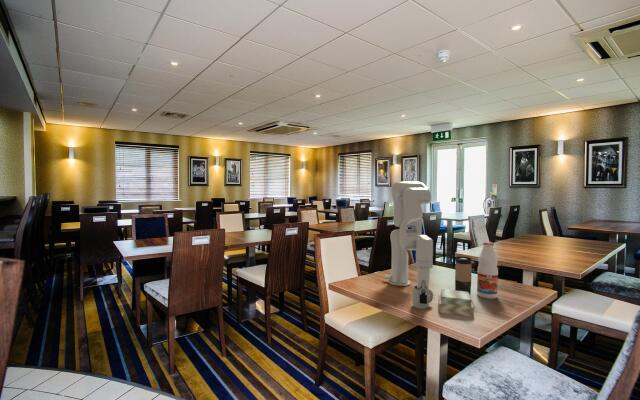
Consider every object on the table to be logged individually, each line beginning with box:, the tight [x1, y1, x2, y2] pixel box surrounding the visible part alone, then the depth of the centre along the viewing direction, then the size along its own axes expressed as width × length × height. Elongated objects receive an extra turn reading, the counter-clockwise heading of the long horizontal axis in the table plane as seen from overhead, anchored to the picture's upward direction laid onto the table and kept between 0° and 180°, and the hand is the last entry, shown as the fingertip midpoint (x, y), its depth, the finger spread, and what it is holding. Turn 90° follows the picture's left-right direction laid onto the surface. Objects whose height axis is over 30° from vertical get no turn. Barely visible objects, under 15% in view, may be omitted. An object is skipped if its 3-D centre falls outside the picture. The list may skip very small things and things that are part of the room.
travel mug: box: [454, 256, 473, 296], centre depth 168 cm, size 8×8×20 cm
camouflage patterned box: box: [438, 288, 475, 318], centre depth 150 cm, size 14×14×7 cm
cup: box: [412, 285, 434, 310], centre depth 154 cm, size 7×10×9 cm
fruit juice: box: [476, 241, 499, 300], centre depth 169 cm, size 9×9×28 cm
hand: (423, 300), depth 154 cm, fingers open, 9 cm apart
